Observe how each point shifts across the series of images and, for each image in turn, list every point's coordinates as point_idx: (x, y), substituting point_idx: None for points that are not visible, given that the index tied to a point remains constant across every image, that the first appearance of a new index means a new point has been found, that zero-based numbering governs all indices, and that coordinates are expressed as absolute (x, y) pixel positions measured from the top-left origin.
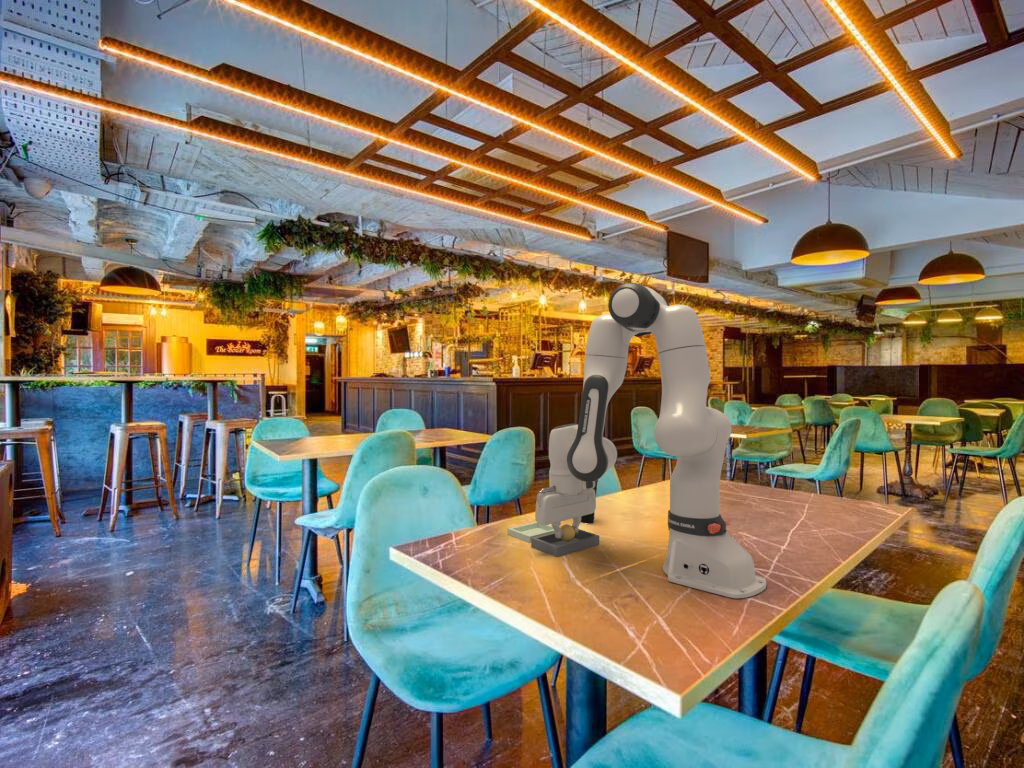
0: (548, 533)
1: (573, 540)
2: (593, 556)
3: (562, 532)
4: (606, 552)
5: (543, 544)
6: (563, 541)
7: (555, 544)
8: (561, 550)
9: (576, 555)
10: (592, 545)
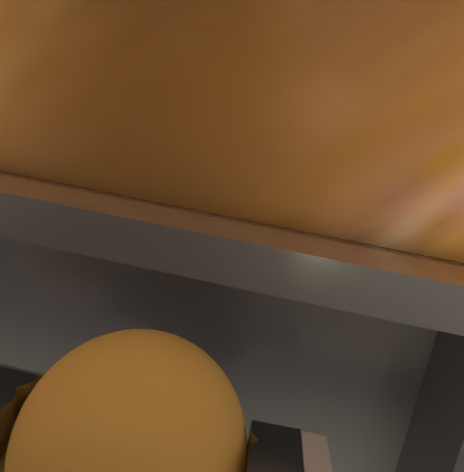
0: None
1: None
2: (189, 42)
3: (270, 465)
4: (13, 10)
5: None
6: None
7: None
8: (452, 274)
9: (271, 185)
10: (1, 175)
